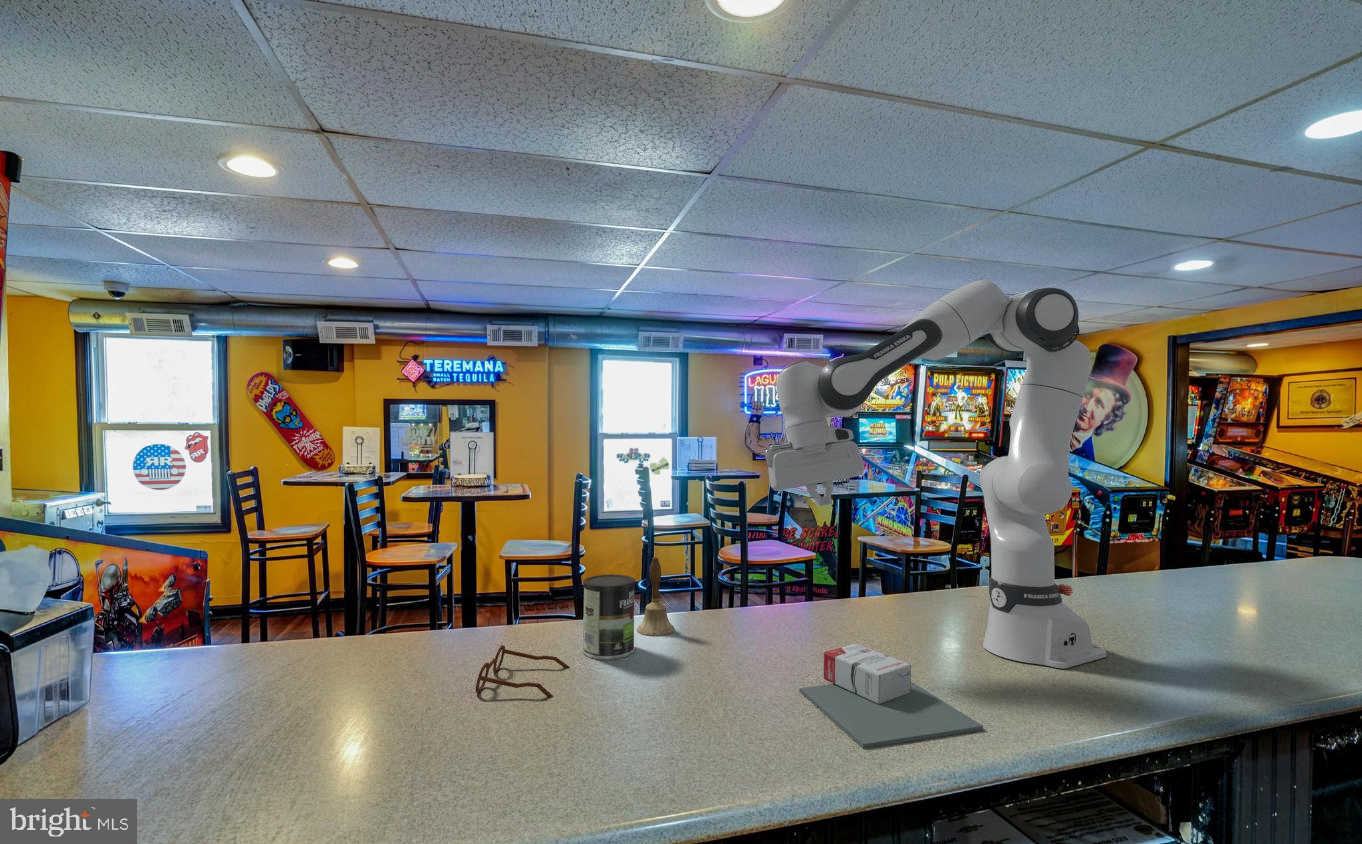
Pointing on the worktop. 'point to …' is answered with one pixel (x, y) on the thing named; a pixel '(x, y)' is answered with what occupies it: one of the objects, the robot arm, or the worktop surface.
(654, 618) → the hand bell
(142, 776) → the worktop surface
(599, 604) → the coffee can
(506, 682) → the glasses
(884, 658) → the ink box
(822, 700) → the rubber mat
